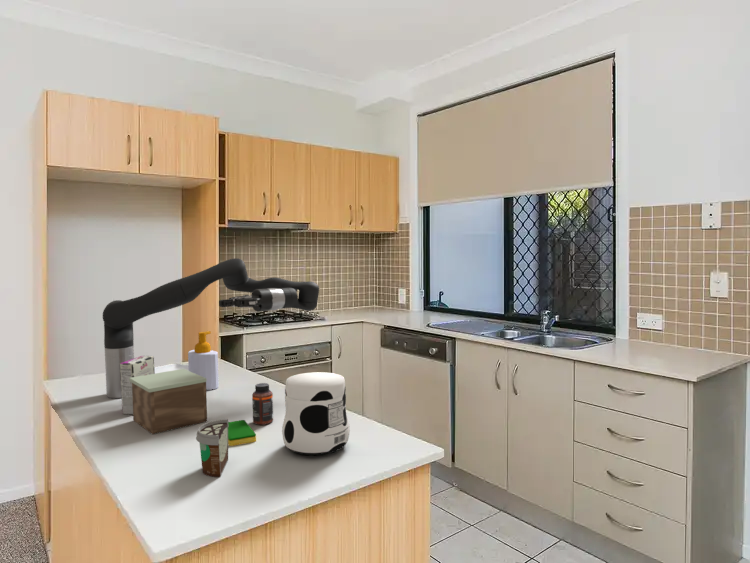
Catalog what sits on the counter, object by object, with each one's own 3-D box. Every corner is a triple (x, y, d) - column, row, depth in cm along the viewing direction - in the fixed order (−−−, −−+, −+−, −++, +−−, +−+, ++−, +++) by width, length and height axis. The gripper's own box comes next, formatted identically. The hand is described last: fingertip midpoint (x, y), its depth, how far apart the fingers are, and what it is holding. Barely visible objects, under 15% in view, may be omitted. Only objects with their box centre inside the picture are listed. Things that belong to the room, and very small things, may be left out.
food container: (204, 459, 132) (202, 419, 131) (229, 458, 133) (228, 418, 132) (191, 481, 120) (189, 437, 119) (219, 479, 120) (217, 436, 120)
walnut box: (133, 420, 161) (131, 381, 160) (185, 409, 172) (184, 372, 171) (152, 434, 149) (150, 392, 149) (207, 421, 160) (205, 381, 159)
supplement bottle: (277, 420, 160) (276, 383, 160) (265, 426, 155) (264, 388, 154) (261, 417, 163) (260, 381, 162) (248, 423, 158) (247, 386, 157)
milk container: (289, 435, 148) (288, 371, 147) (352, 435, 147) (351, 371, 146) (276, 460, 131) (274, 388, 129) (346, 461, 130) (346, 388, 129)
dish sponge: (229, 447, 140) (229, 438, 140) (219, 431, 153) (219, 423, 152) (256, 443, 144) (256, 434, 143) (244, 427, 156) (244, 419, 156)
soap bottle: (224, 386, 199) (223, 332, 197) (207, 392, 192) (205, 335, 190) (200, 382, 206) (199, 329, 204) (183, 386, 199) (181, 332, 198)
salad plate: (209, 376, 216) (209, 368, 216) (164, 388, 198) (164, 379, 198) (175, 370, 227) (175, 362, 227) (129, 381, 209) (129, 372, 209)
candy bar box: (143, 404, 178) (141, 355, 177) (156, 404, 177) (155, 355, 176) (121, 414, 167) (118, 362, 166) (135, 415, 166) (133, 363, 165)
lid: (129, 381, 160) (129, 377, 160) (183, 371, 171) (183, 368, 171) (149, 392, 148) (149, 388, 148) (206, 381, 159) (206, 378, 159)
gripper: (258, 287, 186) (210, 290, 174) (278, 289, 176) (229, 293, 164) (258, 308, 186) (211, 313, 175) (278, 312, 176) (230, 317, 165)
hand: (220, 303), depth 170 cm, fingers closed
